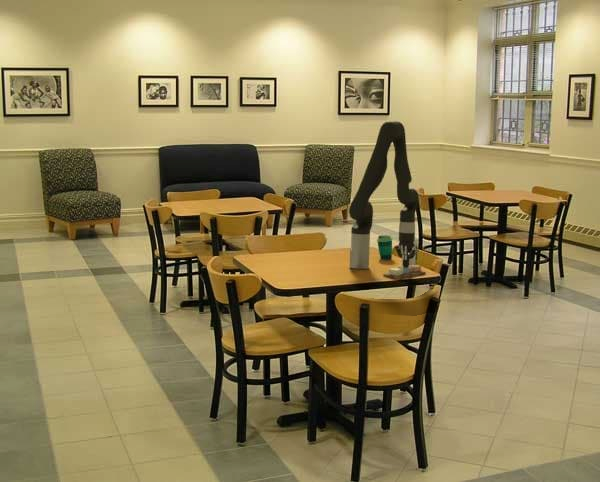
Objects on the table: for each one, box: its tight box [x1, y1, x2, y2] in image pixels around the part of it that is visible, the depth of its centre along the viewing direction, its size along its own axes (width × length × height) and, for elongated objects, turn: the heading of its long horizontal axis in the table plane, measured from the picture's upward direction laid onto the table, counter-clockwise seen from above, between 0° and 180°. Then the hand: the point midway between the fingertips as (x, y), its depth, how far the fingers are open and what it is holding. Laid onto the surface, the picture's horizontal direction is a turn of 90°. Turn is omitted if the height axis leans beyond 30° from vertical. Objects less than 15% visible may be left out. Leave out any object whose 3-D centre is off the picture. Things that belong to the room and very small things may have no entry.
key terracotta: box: [409, 264, 422, 273], centre depth 386 cm, size 5×5×4 cm
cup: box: [376, 234, 393, 261], centre depth 420 cm, size 8×8×12 cm
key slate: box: [397, 265, 412, 274], centre depth 382 cm, size 5×5×4 cm
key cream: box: [387, 267, 403, 276], centre depth 378 cm, size 5×5×4 cm
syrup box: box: [401, 237, 419, 266], centre depth 401 cm, size 6×6×14 cm
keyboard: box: [383, 270, 427, 281], centre depth 382 cm, size 20×9×1 cm, turn 131°
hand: (405, 267), depth 382 cm, fingers closed
